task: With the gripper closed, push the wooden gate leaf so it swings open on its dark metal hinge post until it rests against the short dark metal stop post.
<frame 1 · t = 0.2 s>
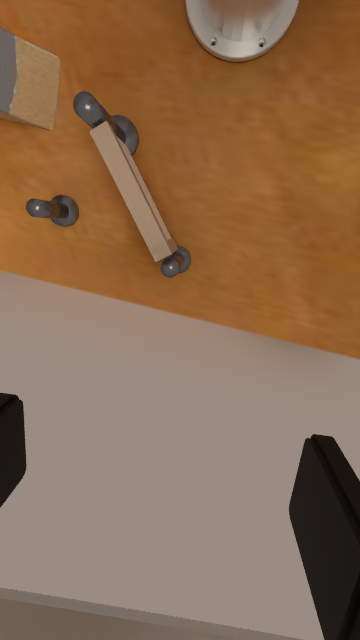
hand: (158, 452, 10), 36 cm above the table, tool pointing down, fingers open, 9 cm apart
gate frame: (119, 139, 41), on the table
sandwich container: (2, 82, 41), on the table
gate leaf: (141, 199, 37), point 6 cm above the table, hinge at 0.0°
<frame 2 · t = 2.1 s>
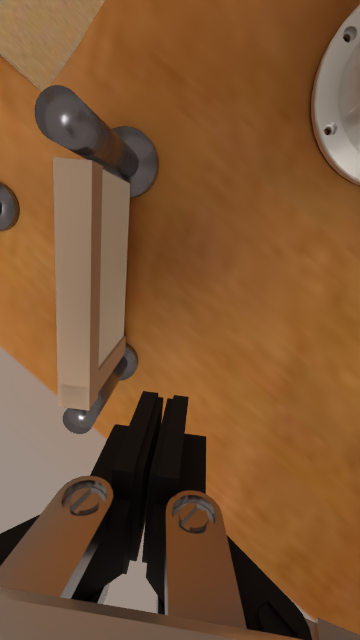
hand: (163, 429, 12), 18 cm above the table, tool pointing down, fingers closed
gate frame: (127, 164, 25), on the table
gate leaf: (100, 283, 22), point 6 cm above the table, hinge at 0.0°
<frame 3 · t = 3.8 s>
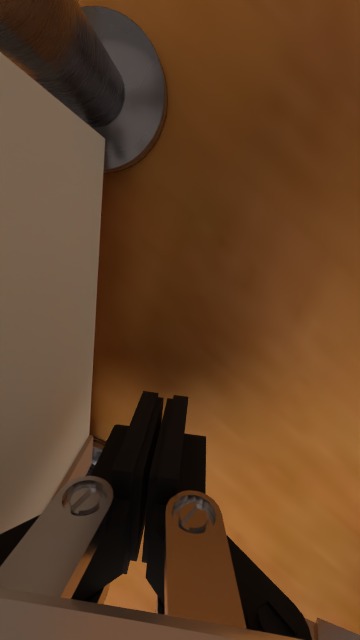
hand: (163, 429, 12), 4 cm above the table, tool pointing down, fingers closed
gate frame: (102, 101, 12), on the table
gate leaf: (16, 372, 9), point 6 cm above the table, hinge at 1.2°, touching gripper
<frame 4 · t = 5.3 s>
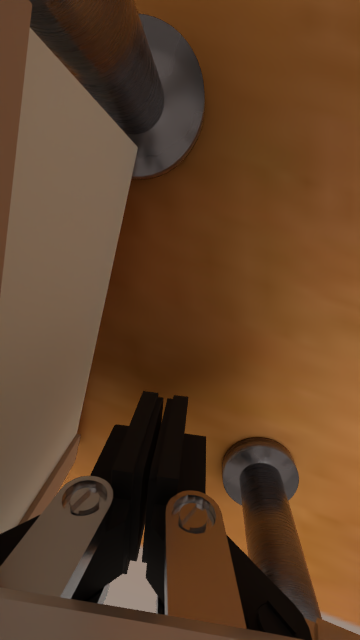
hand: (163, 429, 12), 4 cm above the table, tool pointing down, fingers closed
gate frame: (138, 108, 12), on the table
gate leaf: (23, 372, 9), point 6 cm above the table, hinge at 34.7°, touching gripper
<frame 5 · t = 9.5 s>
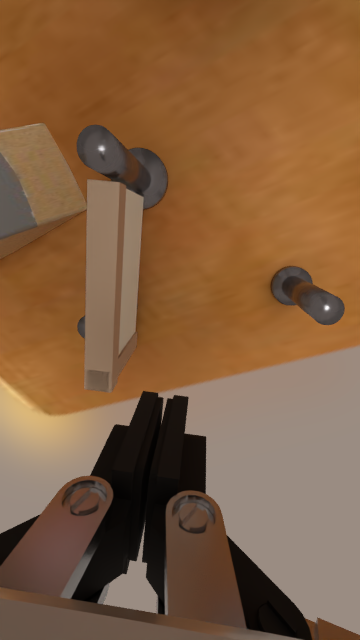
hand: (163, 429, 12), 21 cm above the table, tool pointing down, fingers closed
gate frame: (140, 180, 29), on the table
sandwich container: (5, 204, 31), on the table
gate leaf: (119, 284, 26), point 6 cm above the table, hinge at 62.0°, touching gate frame
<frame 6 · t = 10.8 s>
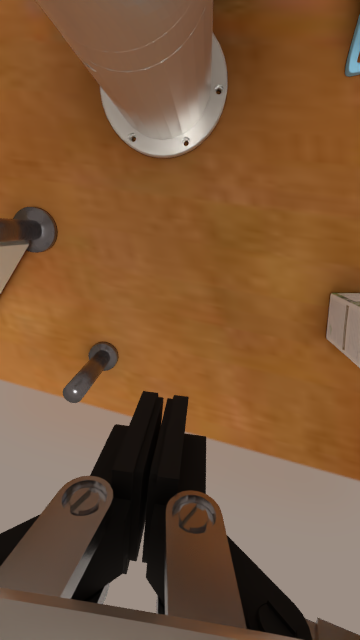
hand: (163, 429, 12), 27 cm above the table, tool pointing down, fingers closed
gate frame: (36, 230, 37), on the table
syrup box: (351, 314, 37), on the table
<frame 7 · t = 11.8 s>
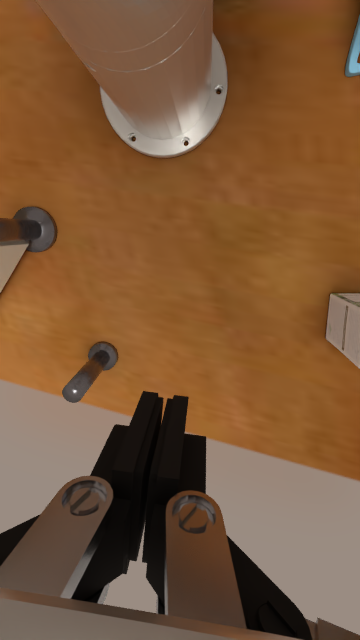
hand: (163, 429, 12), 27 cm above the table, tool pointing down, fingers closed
gate frame: (36, 229, 37), on the table
syrup box: (351, 315, 37), on the table
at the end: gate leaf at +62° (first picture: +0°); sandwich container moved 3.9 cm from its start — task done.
